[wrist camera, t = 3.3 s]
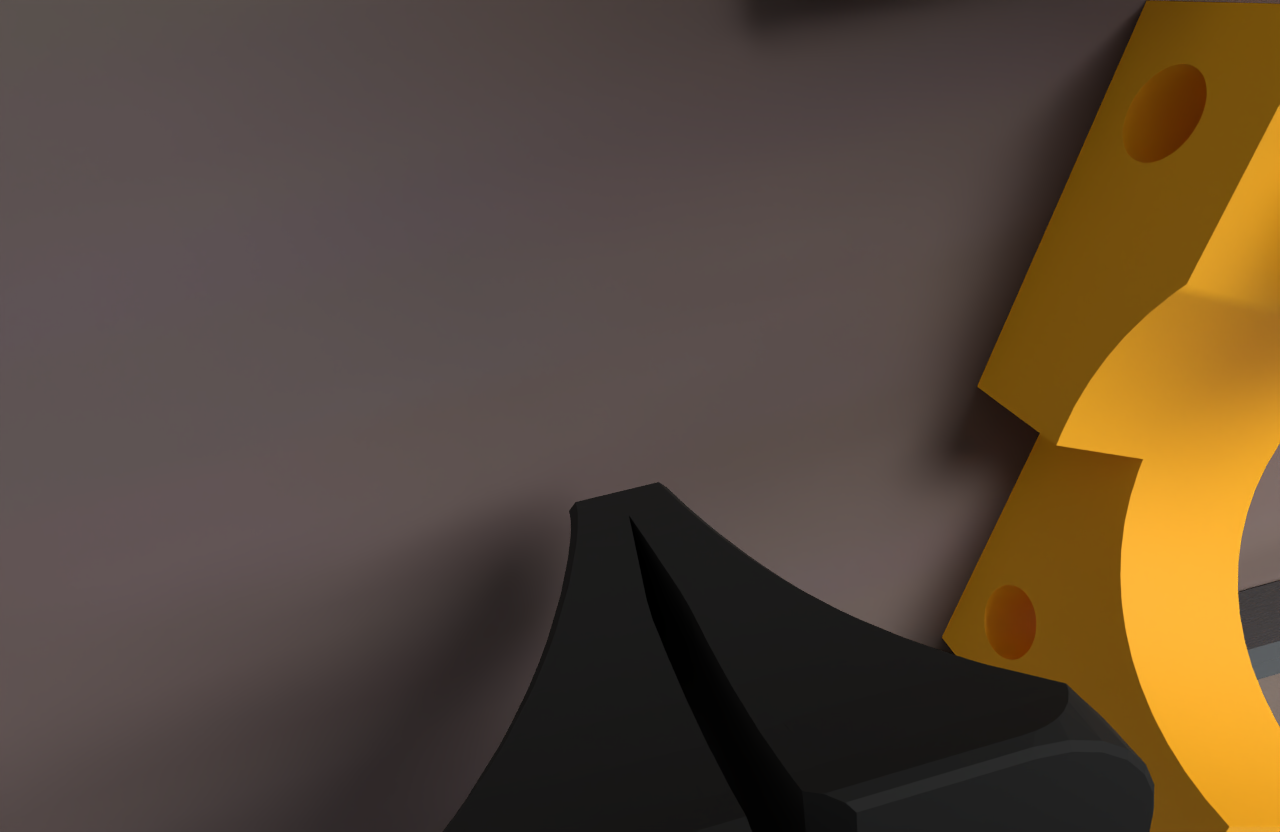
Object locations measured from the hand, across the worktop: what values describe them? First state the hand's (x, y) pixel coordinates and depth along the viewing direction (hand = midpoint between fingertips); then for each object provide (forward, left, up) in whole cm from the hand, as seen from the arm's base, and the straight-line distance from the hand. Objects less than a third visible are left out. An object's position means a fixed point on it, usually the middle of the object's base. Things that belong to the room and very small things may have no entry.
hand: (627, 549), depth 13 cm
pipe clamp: (+9, -1, -3) cm, 10 cm away
